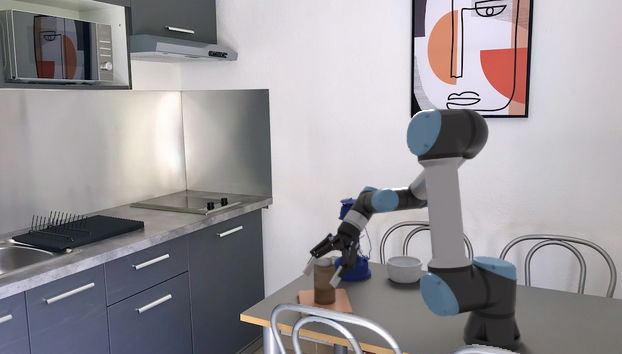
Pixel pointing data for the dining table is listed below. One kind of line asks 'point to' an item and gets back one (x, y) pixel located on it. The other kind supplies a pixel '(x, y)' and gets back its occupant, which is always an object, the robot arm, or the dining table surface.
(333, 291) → the pepper mill
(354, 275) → the lantern
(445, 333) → the dining table surface
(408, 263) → the ramekin
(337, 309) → the plate
